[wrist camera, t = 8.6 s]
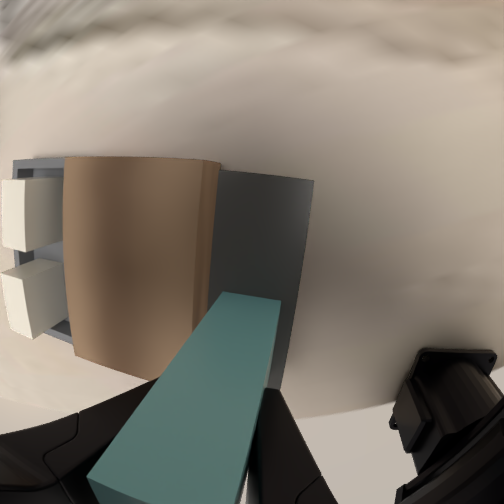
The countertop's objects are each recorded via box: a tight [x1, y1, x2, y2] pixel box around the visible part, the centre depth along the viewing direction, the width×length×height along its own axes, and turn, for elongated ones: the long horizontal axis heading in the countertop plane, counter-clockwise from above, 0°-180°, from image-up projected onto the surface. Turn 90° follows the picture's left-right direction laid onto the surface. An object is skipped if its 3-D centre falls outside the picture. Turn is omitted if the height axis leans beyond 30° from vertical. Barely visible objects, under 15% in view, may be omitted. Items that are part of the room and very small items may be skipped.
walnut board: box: [63, 157, 221, 381], centre depth 16 cm, size 8×12×3 cm, turn 174°
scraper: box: [86, 170, 314, 504], centre depth 8 cm, size 3×11×10 cm, turn 174°
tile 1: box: [1, 176, 64, 252], centre depth 16 cm, size 4×4×2 cm
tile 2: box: [0, 258, 68, 339], centre depth 17 cm, size 4×4×2 cm
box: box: [12, 158, 73, 344], centre depth 18 cm, size 6×12×2 cm, turn 174°
